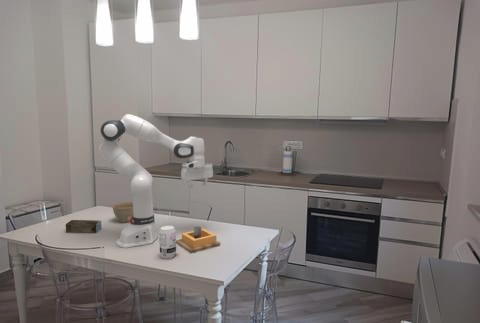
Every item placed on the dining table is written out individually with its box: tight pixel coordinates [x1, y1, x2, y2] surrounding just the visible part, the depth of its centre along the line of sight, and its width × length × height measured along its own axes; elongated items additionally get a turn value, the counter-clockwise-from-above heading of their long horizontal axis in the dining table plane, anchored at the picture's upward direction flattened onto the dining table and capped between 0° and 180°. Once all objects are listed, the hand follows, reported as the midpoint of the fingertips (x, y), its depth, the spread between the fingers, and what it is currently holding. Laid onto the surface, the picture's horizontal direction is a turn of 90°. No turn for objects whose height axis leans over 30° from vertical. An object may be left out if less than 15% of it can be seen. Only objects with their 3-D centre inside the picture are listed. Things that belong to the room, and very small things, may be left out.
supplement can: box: [158, 224, 177, 260], centre depth 174 cm, size 8×8×15 cm
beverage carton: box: [65, 219, 102, 234], centre depth 212 cm, size 8×19×7 cm, turn 90°
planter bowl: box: [112, 201, 133, 223], centre depth 233 cm, size 16×16×11 cm
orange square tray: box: [181, 228, 217, 248], centre depth 190 cm, size 14×14×4 cm
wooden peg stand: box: [176, 226, 221, 254], centre depth 190 cm, size 18×18×10 cm
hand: (197, 186), depth 204 cm, fingers open, 8 cm apart
